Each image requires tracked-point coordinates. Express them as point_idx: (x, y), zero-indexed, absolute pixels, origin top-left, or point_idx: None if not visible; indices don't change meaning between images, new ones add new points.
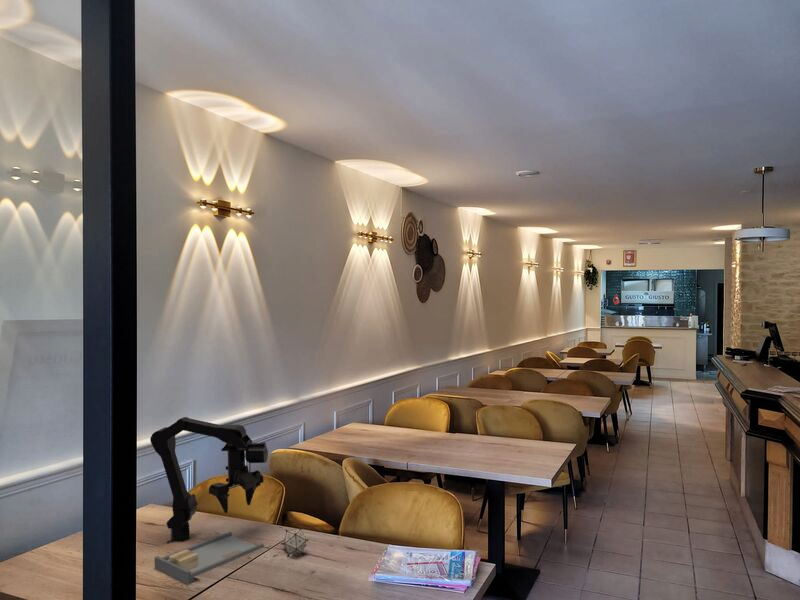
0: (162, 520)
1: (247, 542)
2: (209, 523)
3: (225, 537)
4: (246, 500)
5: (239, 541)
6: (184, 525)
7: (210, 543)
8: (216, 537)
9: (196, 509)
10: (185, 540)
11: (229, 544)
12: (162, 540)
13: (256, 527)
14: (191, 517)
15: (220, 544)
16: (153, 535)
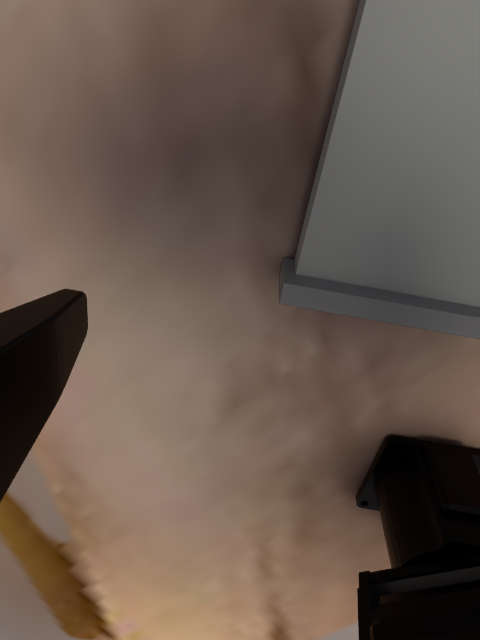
0: (237, 627)
1: (372, 3)
2: (158, 499)
3: (341, 283)
4: (59, 390)
5: (373, 112)
6: (473, 551)
7: (472, 306)
8: (414, 317)
9: (385, 632)
10: (457, 458)
11: (461, 151)
12: None
13: (25, 250)
14: (363, 582)
15: (476, 225)
16: None
